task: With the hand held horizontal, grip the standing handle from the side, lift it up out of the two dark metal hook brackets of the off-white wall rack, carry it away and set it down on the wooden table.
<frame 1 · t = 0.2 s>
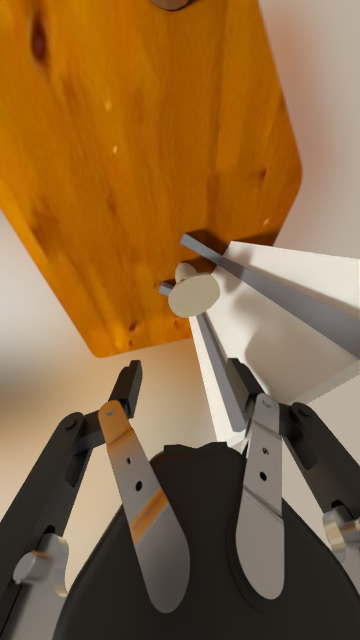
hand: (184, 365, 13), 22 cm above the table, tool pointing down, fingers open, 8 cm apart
rack: (206, 281, 31), on the table
handle: (183, 269, 30), on the table
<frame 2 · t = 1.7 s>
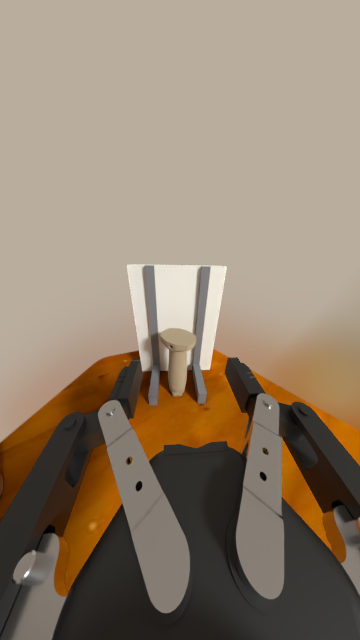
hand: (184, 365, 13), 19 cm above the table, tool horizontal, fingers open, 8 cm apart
rack: (176, 370, 37), on the table
handle: (177, 391, 31), on the table
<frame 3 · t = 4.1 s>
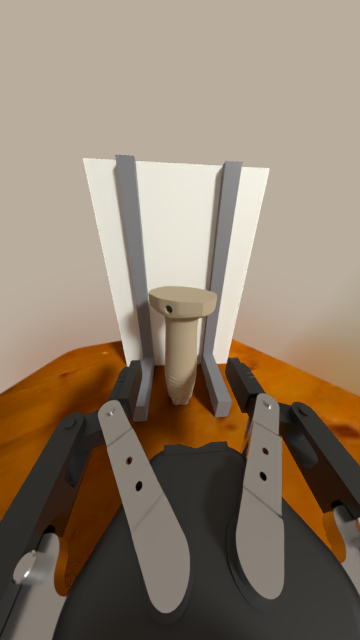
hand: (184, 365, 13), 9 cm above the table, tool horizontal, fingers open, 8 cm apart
rack: (177, 364, 25), on the table
handle: (180, 397, 20), on the table
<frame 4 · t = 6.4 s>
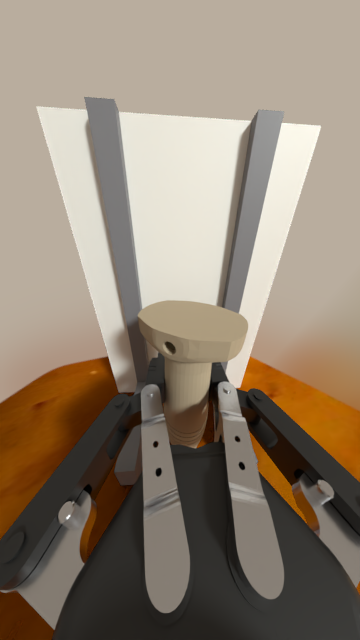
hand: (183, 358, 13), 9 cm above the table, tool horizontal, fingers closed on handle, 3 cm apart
rack: (180, 390, 20), on the table
handle: (183, 440, 15), on the table, touching gripper
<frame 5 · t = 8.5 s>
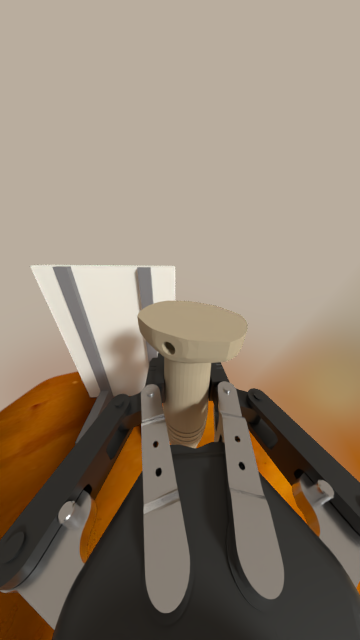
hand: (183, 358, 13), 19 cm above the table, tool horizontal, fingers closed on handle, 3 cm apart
rack: (133, 395, 30), on the table
handle: (183, 440, 15), point 9 cm above the table, touching gripper
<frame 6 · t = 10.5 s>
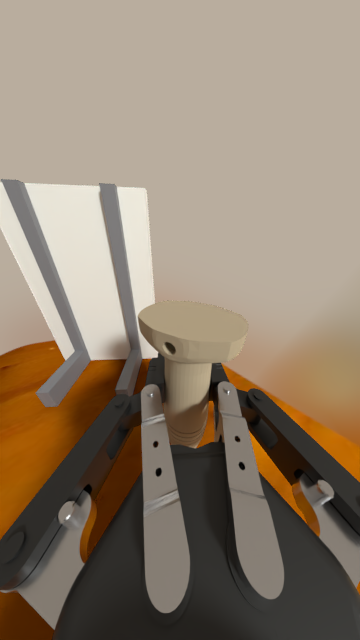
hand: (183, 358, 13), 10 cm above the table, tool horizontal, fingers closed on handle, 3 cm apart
rack: (112, 359, 27), on the table
handle: (183, 440, 15), point 1 cm above the table, touching gripper
when the fingers open (10 cm above the table, at t = 10.8 s): handle drops 1 cm, on the table.
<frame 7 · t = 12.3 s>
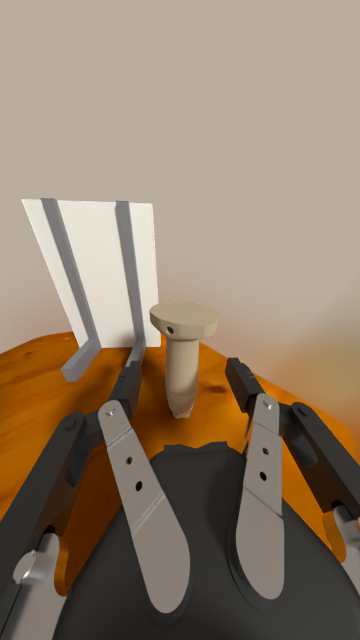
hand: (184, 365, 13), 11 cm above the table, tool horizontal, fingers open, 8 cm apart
rack: (120, 347, 31), on the table
handle: (180, 409, 20), on the table
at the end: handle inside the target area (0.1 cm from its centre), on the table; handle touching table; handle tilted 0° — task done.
